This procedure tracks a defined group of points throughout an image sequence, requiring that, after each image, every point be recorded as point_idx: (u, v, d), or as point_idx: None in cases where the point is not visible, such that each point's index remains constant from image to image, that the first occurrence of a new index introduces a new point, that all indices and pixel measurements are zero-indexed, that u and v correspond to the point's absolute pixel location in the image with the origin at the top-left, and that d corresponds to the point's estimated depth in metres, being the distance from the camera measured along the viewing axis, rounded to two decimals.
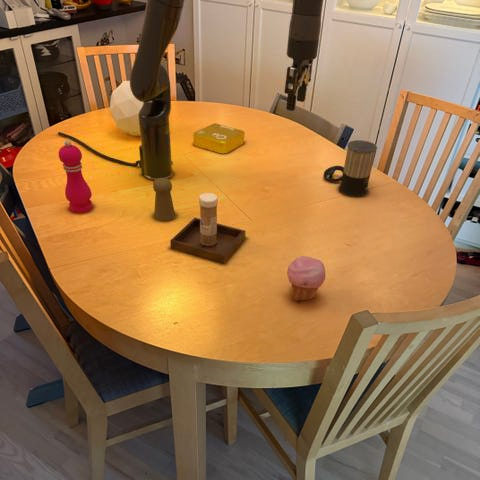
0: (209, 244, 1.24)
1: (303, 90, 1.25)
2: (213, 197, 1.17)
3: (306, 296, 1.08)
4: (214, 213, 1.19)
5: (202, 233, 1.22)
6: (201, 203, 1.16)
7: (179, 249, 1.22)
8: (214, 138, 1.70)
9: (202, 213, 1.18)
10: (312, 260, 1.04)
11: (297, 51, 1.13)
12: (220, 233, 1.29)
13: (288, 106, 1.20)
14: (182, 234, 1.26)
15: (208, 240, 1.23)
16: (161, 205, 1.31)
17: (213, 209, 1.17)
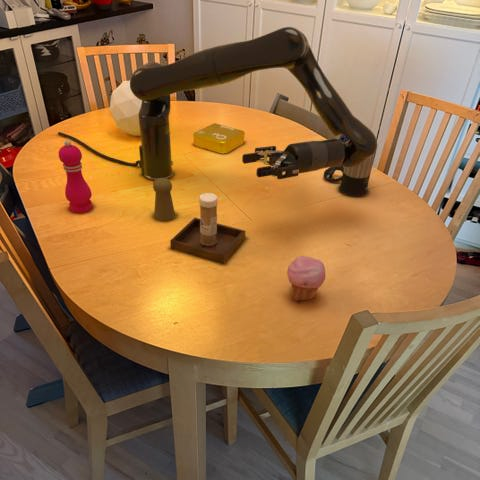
0: (209, 244, 1.24)
1: (253, 160, 1.20)
2: (213, 197, 1.17)
3: (306, 296, 1.08)
4: (214, 213, 1.19)
5: (202, 233, 1.22)
6: (201, 203, 1.16)
7: (179, 249, 1.22)
8: (214, 138, 1.70)
9: (202, 213, 1.18)
10: (312, 260, 1.04)
11: (304, 163, 1.18)
12: (220, 233, 1.29)
13: (263, 172, 1.13)
14: (182, 234, 1.26)
15: (208, 240, 1.23)
16: (161, 205, 1.31)
17: (213, 209, 1.17)
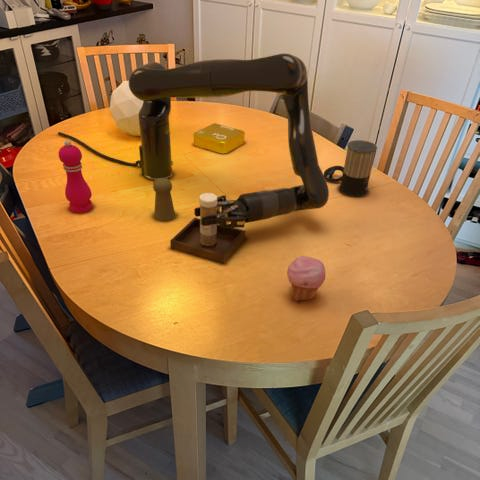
0: (209, 244, 1.24)
1: None
2: (213, 197, 1.17)
3: (306, 296, 1.08)
4: (214, 213, 1.19)
5: (202, 233, 1.22)
6: (201, 203, 1.16)
7: (179, 249, 1.22)
8: (214, 138, 1.70)
9: (202, 213, 1.18)
10: (312, 260, 1.04)
11: (254, 214, 1.21)
12: (220, 233, 1.29)
13: (207, 221, 1.17)
14: (182, 234, 1.26)
15: (208, 240, 1.23)
16: (161, 205, 1.31)
17: (213, 209, 1.17)
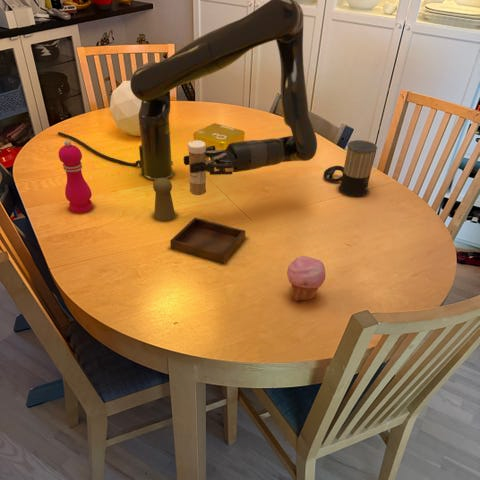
0: (198, 193, 1.26)
1: None
2: (201, 144, 1.18)
3: (306, 296, 1.08)
4: (203, 160, 1.20)
5: (191, 181, 1.24)
6: (190, 149, 1.18)
7: (179, 249, 1.22)
8: (214, 138, 1.70)
9: (191, 160, 1.20)
10: (312, 260, 1.04)
11: (243, 162, 1.23)
12: (220, 233, 1.29)
13: (195, 168, 1.19)
14: (182, 234, 1.26)
15: (197, 189, 1.25)
16: (161, 205, 1.31)
17: (201, 156, 1.19)
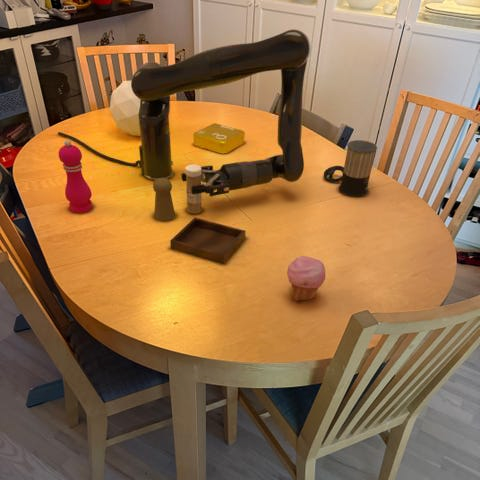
0: (195, 211, 1.37)
1: None
2: (197, 167, 1.30)
3: (306, 296, 1.08)
4: (199, 182, 1.32)
5: (188, 201, 1.35)
6: (187, 173, 1.30)
7: (179, 249, 1.22)
8: (214, 138, 1.70)
9: (188, 182, 1.32)
10: (312, 260, 1.04)
11: (235, 182, 1.34)
12: (220, 233, 1.29)
13: (196, 190, 1.29)
14: (182, 234, 1.26)
15: (194, 208, 1.36)
16: (161, 205, 1.31)
17: (197, 178, 1.31)
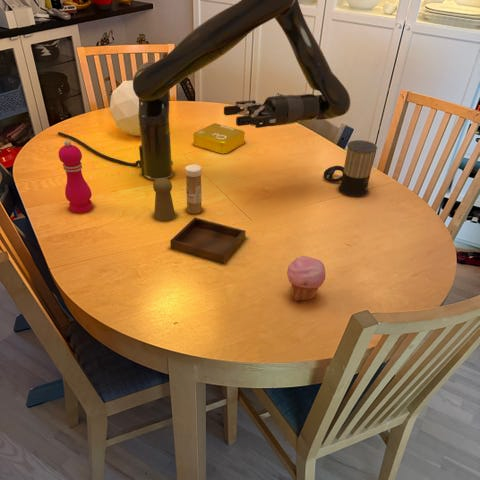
0: (195, 211, 1.37)
1: (234, 112, 1.29)
2: (197, 167, 1.30)
3: (306, 296, 1.08)
4: (199, 182, 1.32)
5: (188, 201, 1.35)
6: (187, 173, 1.30)
7: (179, 249, 1.22)
8: (214, 138, 1.70)
9: (188, 182, 1.32)
10: (312, 260, 1.04)
11: (280, 115, 1.27)
12: (220, 233, 1.29)
13: (242, 120, 1.22)
14: (182, 234, 1.26)
15: (194, 208, 1.36)
16: (161, 205, 1.31)
17: (197, 178, 1.31)
